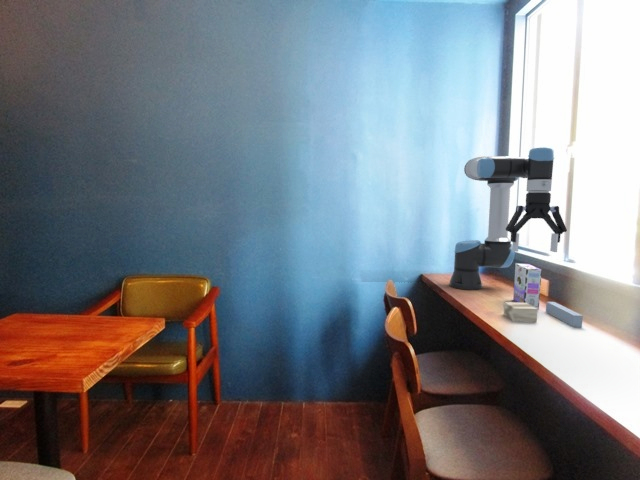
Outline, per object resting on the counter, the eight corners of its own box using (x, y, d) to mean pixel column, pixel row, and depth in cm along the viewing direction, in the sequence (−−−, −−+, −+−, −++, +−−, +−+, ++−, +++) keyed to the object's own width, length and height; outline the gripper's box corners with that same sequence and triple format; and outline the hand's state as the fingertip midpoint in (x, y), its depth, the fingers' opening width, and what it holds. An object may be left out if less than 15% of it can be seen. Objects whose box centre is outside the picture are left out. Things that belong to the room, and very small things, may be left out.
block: (503, 314, 137) (504, 302, 137) (525, 315, 137) (526, 302, 136) (513, 321, 129) (514, 308, 129) (536, 322, 129) (537, 308, 128)
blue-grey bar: (545, 311, 141) (546, 301, 140) (553, 311, 141) (554, 301, 140) (572, 326, 124) (573, 315, 123) (581, 326, 124) (582, 315, 123)
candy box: (539, 309, 144) (542, 269, 142) (523, 308, 145) (526, 268, 143) (527, 300, 157) (529, 263, 155) (512, 299, 158) (514, 262, 156)
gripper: (507, 191, 124) (503, 252, 126) (581, 192, 123) (576, 253, 125) (498, 192, 132) (494, 249, 134) (567, 192, 131) (563, 250, 133)
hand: (534, 251), depth 130 cm, fingers open, 13 cm apart
